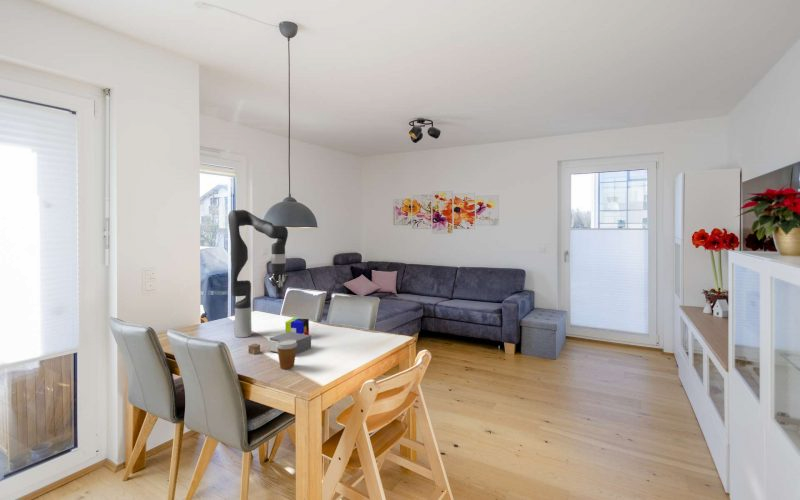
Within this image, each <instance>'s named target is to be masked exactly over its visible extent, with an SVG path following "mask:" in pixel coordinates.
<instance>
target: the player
mask: <svg viewBox="0 0 800 500" xmlns="http://www.w3.org/2000/svg"><path fill="white" fill-rule="evenodd" d="M286 339H292V340H296V343H297V346H296V353H295V356H296V355H299V354H301V353H304V352H306V351H308V350H311V349H312V335H310V334H309V335H305V334H299V333H293V332H287V333H286V332H284V333H282V334H278V335H275V336H272V337H269V340H272V341H277V342H278V341H281V340H286ZM272 352H273V353H275V352H274V351H272ZM276 353H277V354H278V352H276Z"/></svg>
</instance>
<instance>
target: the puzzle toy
mask: <svg viewBox="0 0 800 500" xmlns="http://www.w3.org/2000/svg"><path fill="white" fill-rule="evenodd" d="M309 321H310V318H302V317H301V318H298V317H292V318H291V319H288V320H287V321H285V333H287V332H293V333H299V334H305V335H310V326H309V325H310V322H309Z"/></svg>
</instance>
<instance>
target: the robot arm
mask: <svg viewBox="0 0 800 500" xmlns="http://www.w3.org/2000/svg"><path fill="white" fill-rule="evenodd" d="M227 217H228V218H227V220H228V221H227V222H228V229H229V237H230V263H231V288H230V289H231V295H232V297H244V298H243V299H241V300H238V301H237V302H235V303H234V320H233V335H234V337H235V338H247V337H252V333H253V332H252V331H253V330H252V298H251V297H252V283H251V281H250V280H246V279H245V280H238V278H239V275H240V274H241V272H242V270H243V268H244V266H245V265H246V263H247V262H248V260H249V254H248V246H247V244H246V243H245V241H244V240H243V238H242V236H241V233H240V227H244V226H250V227H253V228H254V230H255V231H257V232H259V233H262V234H264V235H265V236H267V237H268V238H270V239H275V240H276V242H274V243H272V244H271V260H270V263H271V272H272V273H271V277H268V281H269V282H270V284H271V285H272V286H273V287H275V293H276V294H277V295H281V294H282V292H283V290H282V289H283V286H285V285H286V283H287V281H288V279H289V277H290V276H288V275H287V274H286V270H287V262H286V261H287V260H286V259H287V257H286V246H287V245H286V244H287V241H288V237H289V235H288V234H289V232H288V229H287V227H286V226H285V225H275V224H273V223H272V222H270V221H267V220H264V219H262V218H260V217H258V216H257V215H254V214H252V213H251V212H249V211H247V210H245V209H238V210H230V211H229V213H228V216H227Z"/></svg>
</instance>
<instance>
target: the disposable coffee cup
mask: <svg viewBox="0 0 800 500" xmlns="http://www.w3.org/2000/svg"><path fill="white" fill-rule="evenodd" d="M276 346H277V349H278V353H277V354H278V355H277V356H278V361H279V369H281V370H291V369H293V368H295V360H296V355H295V353H296V346H297V343H296V340H292V339H286V340H281V341H278V342H277V345H276Z"/></svg>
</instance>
